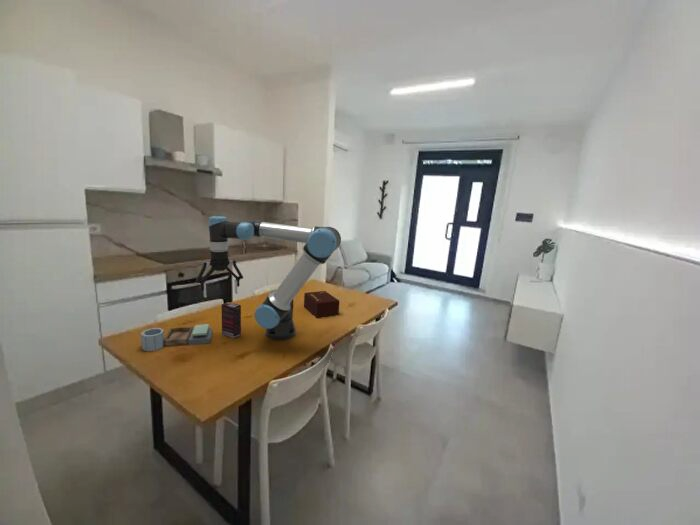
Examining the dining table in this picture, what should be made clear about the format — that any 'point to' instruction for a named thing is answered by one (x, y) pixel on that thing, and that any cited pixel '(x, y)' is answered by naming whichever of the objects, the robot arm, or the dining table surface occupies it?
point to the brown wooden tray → (177, 336)
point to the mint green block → (200, 330)
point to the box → (321, 304)
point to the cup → (152, 339)
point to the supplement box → (231, 319)
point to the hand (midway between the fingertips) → (221, 294)
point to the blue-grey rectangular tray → (200, 338)
